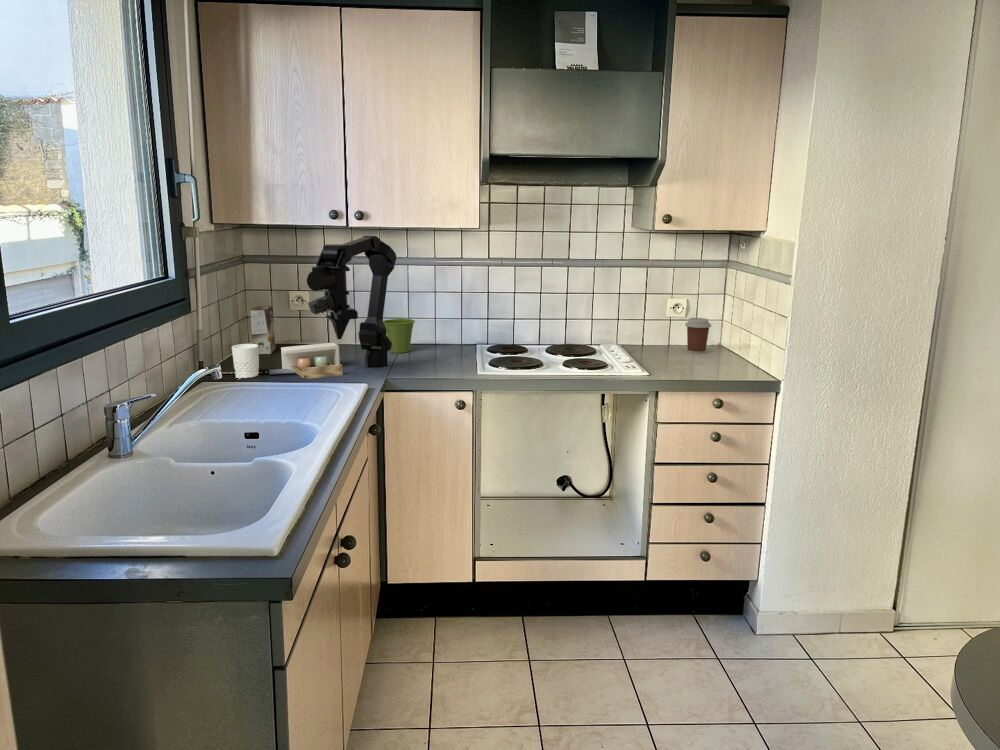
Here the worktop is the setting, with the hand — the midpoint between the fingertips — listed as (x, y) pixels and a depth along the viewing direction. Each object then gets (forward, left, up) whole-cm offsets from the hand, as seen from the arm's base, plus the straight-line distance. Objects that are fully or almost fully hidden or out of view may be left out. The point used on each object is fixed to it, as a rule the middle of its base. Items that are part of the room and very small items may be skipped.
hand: (339, 339), depth 227 cm
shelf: (+4, -18, -13) cm, 23 cm away
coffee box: (+10, -57, -13) cm, 59 cm away
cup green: (+1, -16, -12) cm, 20 cm away
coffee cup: (-128, +19, -13) cm, 130 cm away
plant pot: (-33, -34, -13) cm, 49 cm away
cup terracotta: (+7, -16, -12) cm, 22 cm away
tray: (+4, -12, -13) cm, 18 cm away
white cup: (+24, -19, -13) cm, 33 cm away
